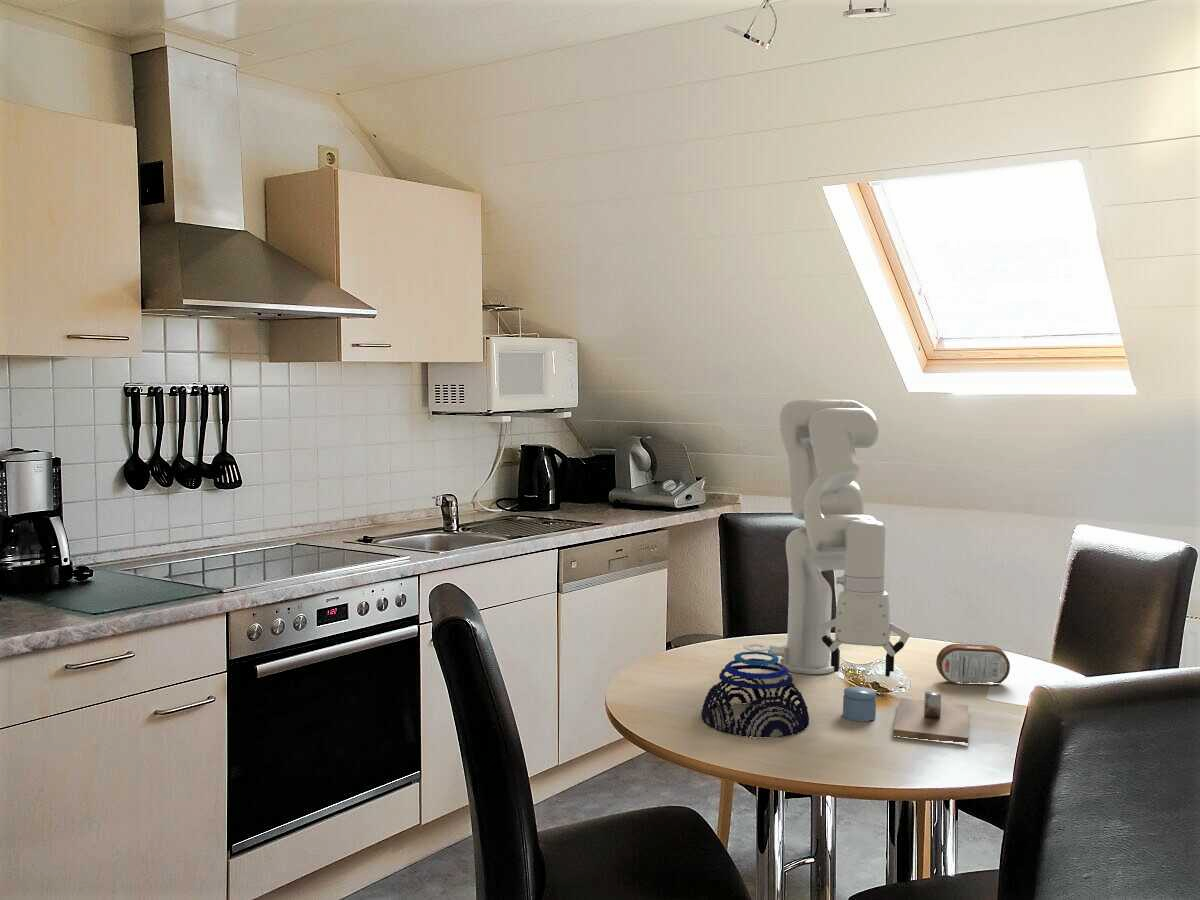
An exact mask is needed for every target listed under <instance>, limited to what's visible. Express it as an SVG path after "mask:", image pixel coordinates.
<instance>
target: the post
mask: <svg viewBox="0 0 1200 900" xmlns="http://www.w3.org/2000/svg"><path fill="white" fill-rule="evenodd" d="M924 700H925V703H924V717H925V718H928V719H940V717H941V702H942V693H941V692H938V691H935V690H934V691H933V690H931V691H925V692H924Z"/></svg>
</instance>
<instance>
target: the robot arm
mask: <svg viewBox="0 0 1200 900" xmlns="http://www.w3.org/2000/svg"><path fill="white" fill-rule="evenodd" d="M779 431H780V436H781V441H782V444H783V446H784V448H785V451H786V455H787V458H788V467H789V468H788V469H789V471H788V472H789V473H788V474H789V492H790V493H789V497H790V505H791V506H790V509H791V513H792V515H793V517H794V518H795V519H797V520H799V521H804V524H805V527H800V528H796V529H794V530H792V531H791V532H790V533H789V534H788V535H787V537H786V540H785V553H786V561H787V570H788V608H787V610H788V611H787V613H788V615H787V641H786V642H787V643H786V645H785V644H782V646H778V645H773V644H768V645H767V646H769V647H770V650H769V651H767V653H770V654H772V655H774V656H777V657H781V658H779V659H780V660H779V664H782V665H783V666H785V667H786V668H787V670H788V672H792V673H796V674H803V675H824V674H829V673H830V674H831V673H833V672H834V673H837V672H839V670H840V659H841V658H840V657H841V656H840V655H841V654H840V653H841V650H840V648H839V647H841V645H842V644H843V645H845V644H846V645H854V646H855V645H857V646H866V647H867V646H868V647H882V648H883V650H885V652H887V653H886V655H885V677H890V675H891V672H894V670H895V656H896V655H897V653H898V652H900V651H901V650H902V649H903V648H904V647H905V645H906V644H907V641H908V640H909V638H910V636H911V634H910V632H909V631H907V630H906V629H904V628H902V627H900V626H899V625H897V624H895V623H893V622H891V610H890V609H891V607H890V599H889V595H888V594H889V593H888V592H887V591H885V567H886V563H885V559H886V527H885V524H884V523H883V522H882V521H878V520H877V519H876V518H875V517H874V516H871V515H867V514H865V508H864V498H863V497H864V496H863V494H862V490H861V488H860V486H859V484H858V483H857V482H855V480H857V478H858V476H859V474H860V470H861V469H860V465H859V461H858V456H857V452H856V449H870V448H872V447H873V446H874V445H876V443H877V442H878V438H879V435H880V434H879V423H878V421H877V417H876V415H875V414H874V412H873V411H872V410H871V409H870V408H868V406H865V405H863V403H862V404H861V403H860V402H858V401H856V400H852V399H815V398H814V399H813V398H811V399H806V398H804V399H796V400H791V401H789V402H787V403H785V404H784V405H783V406H782V408H781V411H780V414H779ZM824 571H843V573H844V574H843V575H842V576H836V585H840V586H842V587H843V589H840V590H839V593H838V597H837V598H838V599H837V604H836V613H835V618H833V619H832V605H833V604H832V602H833V600H832V599H833V593H832V592H833V591H832V587H831V585H830V583H829V582H828V581H827V580H826V578H825V577H824V576H823V574H822V572H824ZM833 628H835V629H834V630H835V631H834V637H835V639H834V640H833V638H831V637H832V636H831V633H832V632H831V631H832V629H833ZM891 632H892V633H894V634H896V635H898V636H899V639H898V641H897V642H896V643H895V644H892V642H891V641H890V639H891ZM830 659H831V660H830Z"/></svg>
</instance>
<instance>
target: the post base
mask: <svg viewBox="0 0 1200 900" xmlns="http://www.w3.org/2000/svg"><path fill="white" fill-rule="evenodd" d="M924 703H925V699H914V698H913V699H912V698H904V697H899V700H898V705H897V711H896V715H895V721H894V726H893V734H892V735H893V736H896V737H897V736H900V737H908V738H918V739H928V740H939V741H953V742H965V743H968V744H969V705H968V704H961V703H952V702H944V701H943V702H942V701H941V717H940V719H928V718H925V717H924ZM893 736H892V737H893Z"/></svg>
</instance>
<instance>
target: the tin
mask: <svg viewBox="0 0 1200 900" xmlns="http://www.w3.org/2000/svg"><path fill="white" fill-rule="evenodd" d="M935 661H936V662H935V664H936V668H937V671H938V673H939V674H940V675H941V677H942V678H943V679H944V680H946V681H947V682H949V683H951V682H952V683H951V684H954V683H957V682H960V683H961V682H962V683H970V682H971V683H979V682H980V683H987V682H993V683H1000V684H1002V683H1003V682H1004V681H1006V679H1007V678H1008V676H1009V674H1010V672H1011V671H1010V670H1011V665H1010V661H1009V658H1008V657H1007V655H1006V653H1005V651H1003V650H1002V649H1001V648H999V647H997V646H996V645H995V646H994V645H988V644H985V645H983V644H969V643H967V644H965V643H951V644H948V645H946V646H945V647H943V648H942V649H941V650H940V651H939V653H937V656H936V660H935Z"/></svg>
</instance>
